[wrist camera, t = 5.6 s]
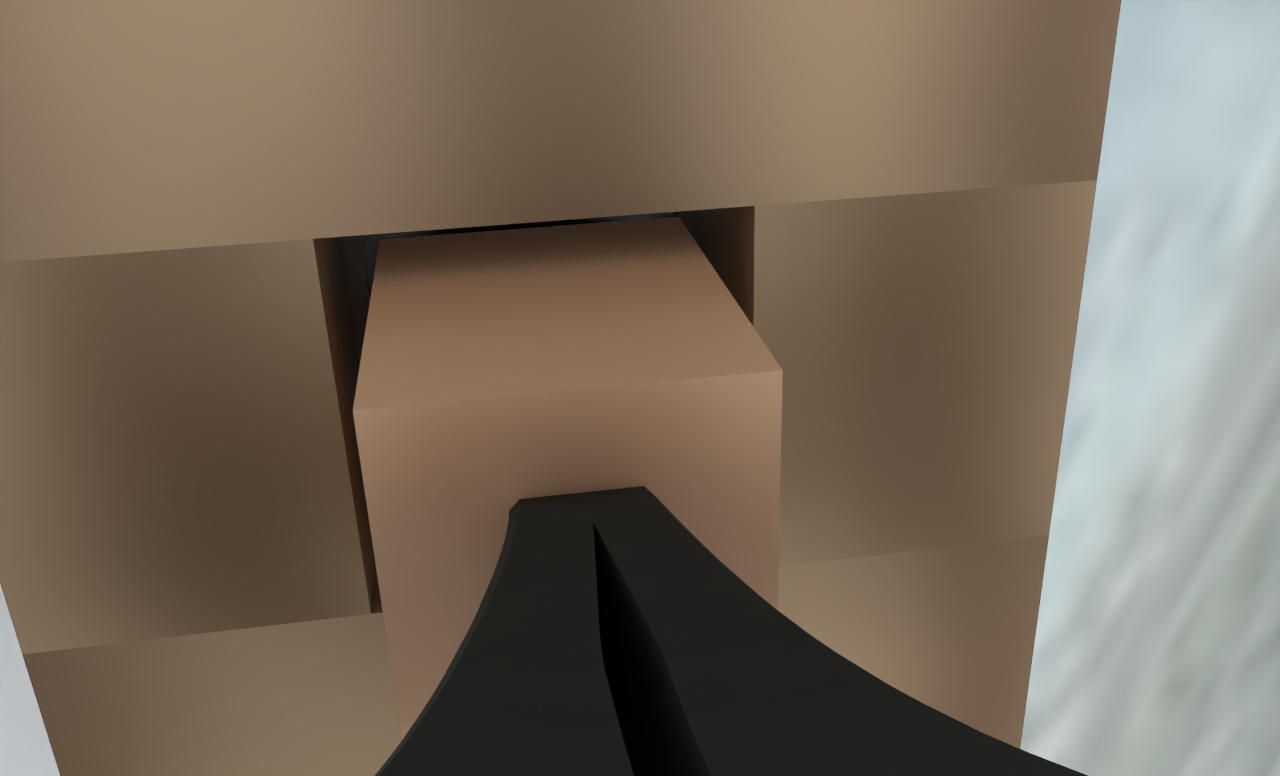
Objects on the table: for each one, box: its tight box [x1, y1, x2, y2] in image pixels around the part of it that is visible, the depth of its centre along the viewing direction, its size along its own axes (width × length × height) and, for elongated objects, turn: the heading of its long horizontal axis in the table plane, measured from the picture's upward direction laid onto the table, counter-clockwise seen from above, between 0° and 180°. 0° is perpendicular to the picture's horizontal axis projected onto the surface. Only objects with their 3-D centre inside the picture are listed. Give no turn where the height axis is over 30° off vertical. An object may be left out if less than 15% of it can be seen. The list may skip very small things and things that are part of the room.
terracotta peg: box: [353, 217, 783, 739], centre depth 14 cm, size 4×4×5 cm
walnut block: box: [0, 0, 1121, 776], centre depth 20 cm, size 14×24×6 cm, turn 2°
